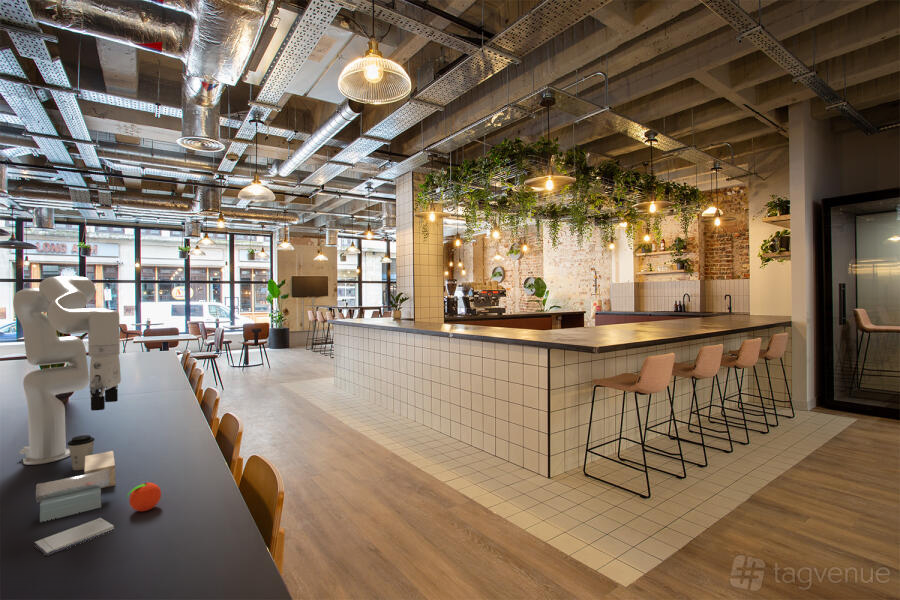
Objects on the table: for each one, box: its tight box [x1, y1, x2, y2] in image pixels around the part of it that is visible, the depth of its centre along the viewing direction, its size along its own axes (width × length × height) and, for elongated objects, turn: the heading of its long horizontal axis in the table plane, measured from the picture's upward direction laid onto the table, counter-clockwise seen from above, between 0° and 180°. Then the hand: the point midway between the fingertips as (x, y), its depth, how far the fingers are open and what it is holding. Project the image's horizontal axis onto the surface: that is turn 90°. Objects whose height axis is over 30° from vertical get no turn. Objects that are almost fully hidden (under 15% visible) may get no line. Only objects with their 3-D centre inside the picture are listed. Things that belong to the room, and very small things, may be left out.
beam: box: [84, 450, 116, 489], centre depth 135 cm, size 7×16×6 cm, turn 39°
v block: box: [39, 487, 102, 523], centre depth 118 cm, size 12×12×4 cm
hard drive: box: [34, 517, 115, 553], centre depth 103 cm, size 2×8×12 cm
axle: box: [35, 469, 111, 503], centre depth 118 cm, size 15×4×4 cm, turn 129°
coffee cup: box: [67, 434, 95, 471], centre depth 145 cm, size 7×7×10 cm
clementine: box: [125, 482, 162, 512], centre depth 115 cm, size 8×7×7 cm
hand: (104, 405), depth 134 cm, fingers open, 9 cm apart
